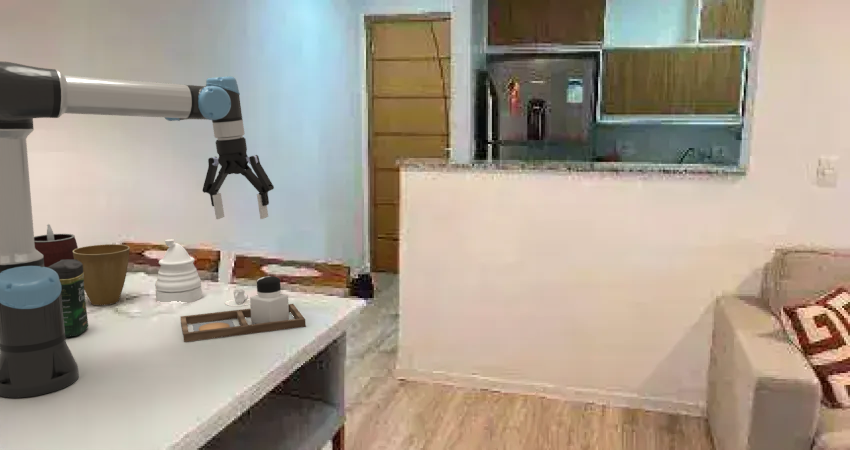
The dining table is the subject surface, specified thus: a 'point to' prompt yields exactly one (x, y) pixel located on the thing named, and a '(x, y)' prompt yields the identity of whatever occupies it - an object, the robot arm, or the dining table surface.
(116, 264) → the plant pot
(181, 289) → the honey pot
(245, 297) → the teacup and saucer
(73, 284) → the coffee jar
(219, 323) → the card
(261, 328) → the walnut rack
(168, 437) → the dining table surface
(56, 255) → the mate gourd
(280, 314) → the medicine bottle
